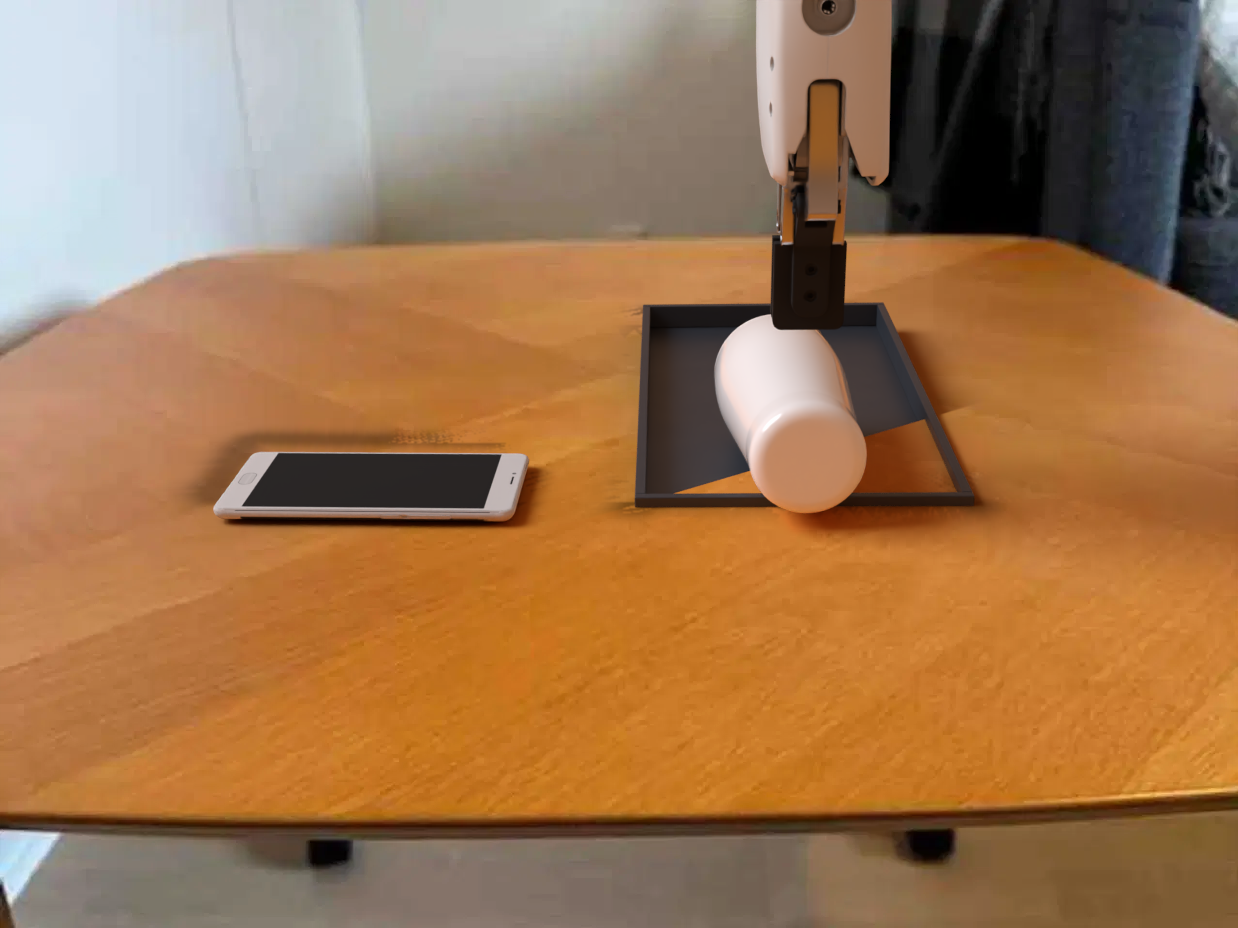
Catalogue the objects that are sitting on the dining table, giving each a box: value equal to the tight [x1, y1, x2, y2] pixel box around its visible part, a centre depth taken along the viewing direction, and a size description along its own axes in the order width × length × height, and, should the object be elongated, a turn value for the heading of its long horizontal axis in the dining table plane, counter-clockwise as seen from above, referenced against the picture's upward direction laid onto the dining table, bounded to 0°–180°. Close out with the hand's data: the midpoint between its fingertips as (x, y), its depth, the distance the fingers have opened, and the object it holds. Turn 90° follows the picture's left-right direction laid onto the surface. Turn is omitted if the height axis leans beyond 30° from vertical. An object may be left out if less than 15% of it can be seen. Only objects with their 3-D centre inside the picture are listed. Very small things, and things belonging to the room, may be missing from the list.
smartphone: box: [212, 451, 530, 522], centre depth 75 cm, size 8×1×15 cm
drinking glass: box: [714, 314, 868, 514], centre depth 73 cm, size 7×7×15 cm
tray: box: [634, 301, 975, 509], centre depth 84 cm, size 31×16×2 cm, turn 178°
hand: (806, 323), depth 67 cm, fingers closed
